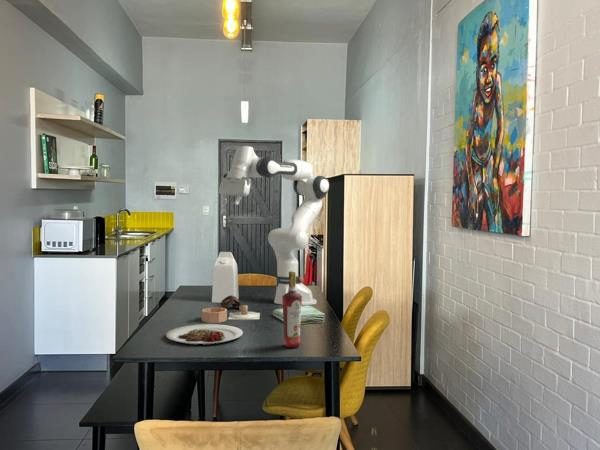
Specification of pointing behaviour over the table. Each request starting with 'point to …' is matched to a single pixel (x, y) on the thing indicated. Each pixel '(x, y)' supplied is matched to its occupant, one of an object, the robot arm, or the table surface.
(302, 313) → the towel
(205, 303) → the table surface
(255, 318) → the mat
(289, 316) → the liquor
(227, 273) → the milk
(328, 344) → the table surface
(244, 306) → the lid
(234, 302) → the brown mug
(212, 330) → the plated food
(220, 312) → the bowl
